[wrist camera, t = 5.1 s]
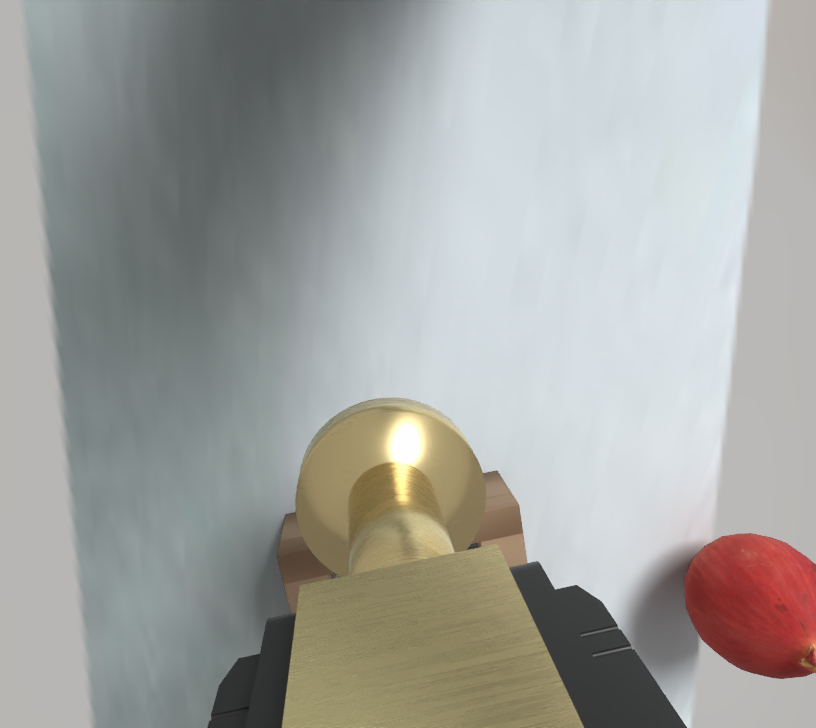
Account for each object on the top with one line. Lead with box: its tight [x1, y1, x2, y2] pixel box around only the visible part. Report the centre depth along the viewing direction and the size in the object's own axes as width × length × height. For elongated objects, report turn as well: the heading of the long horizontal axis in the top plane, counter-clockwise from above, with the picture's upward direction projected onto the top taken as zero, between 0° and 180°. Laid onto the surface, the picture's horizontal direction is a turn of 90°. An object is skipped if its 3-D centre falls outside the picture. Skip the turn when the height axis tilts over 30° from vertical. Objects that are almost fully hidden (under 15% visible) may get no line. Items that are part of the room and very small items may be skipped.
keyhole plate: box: [277, 471, 527, 614], centre depth 28 cm, size 18×10×4 cm, turn 10°
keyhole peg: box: [282, 398, 584, 728], centre depth 11 cm, size 5×5×11 cm
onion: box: [684, 533, 816, 679], centre depth 26 cm, size 6×6×8 cm
